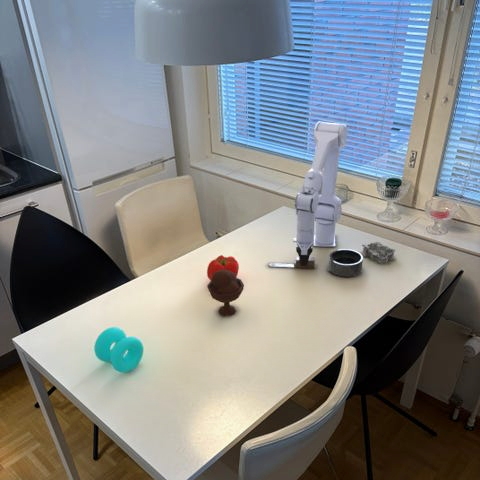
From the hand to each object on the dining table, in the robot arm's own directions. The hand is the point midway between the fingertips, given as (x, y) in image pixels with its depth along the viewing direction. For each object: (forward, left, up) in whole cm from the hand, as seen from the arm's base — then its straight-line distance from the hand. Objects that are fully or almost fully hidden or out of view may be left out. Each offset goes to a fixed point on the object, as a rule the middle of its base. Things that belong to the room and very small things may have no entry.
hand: (303, 263), depth 173 cm
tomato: (+12, -27, -2) cm, 29 cm away
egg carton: (-9, +26, -2) cm, 28 cm away
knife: (0, -4, -1) cm, 4 cm away
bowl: (+1, +14, -1) cm, 14 cm away
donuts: (+56, -48, -2) cm, 74 cm away
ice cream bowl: (+29, -23, -2) cm, 37 cm away
